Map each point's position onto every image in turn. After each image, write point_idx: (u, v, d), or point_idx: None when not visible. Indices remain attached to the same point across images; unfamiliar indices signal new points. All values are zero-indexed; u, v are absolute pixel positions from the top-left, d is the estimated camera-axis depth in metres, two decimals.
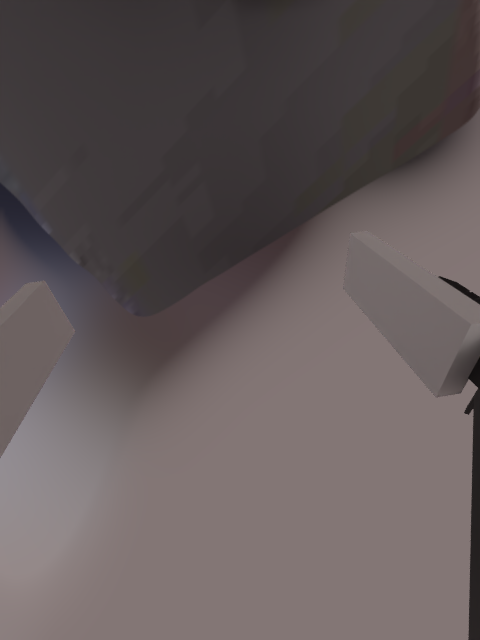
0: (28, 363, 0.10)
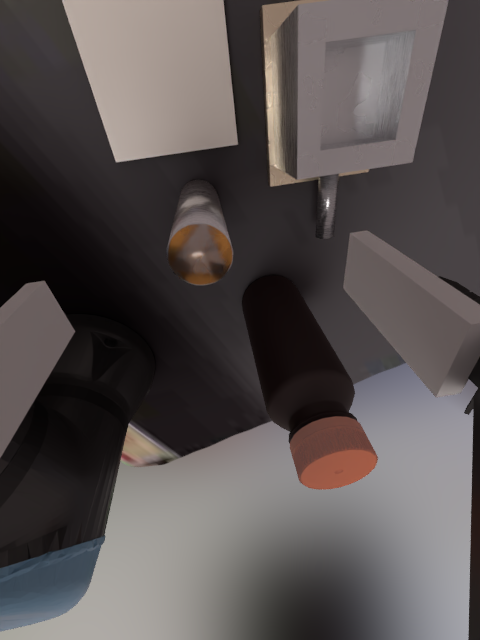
0: (28, 363, 0.10)
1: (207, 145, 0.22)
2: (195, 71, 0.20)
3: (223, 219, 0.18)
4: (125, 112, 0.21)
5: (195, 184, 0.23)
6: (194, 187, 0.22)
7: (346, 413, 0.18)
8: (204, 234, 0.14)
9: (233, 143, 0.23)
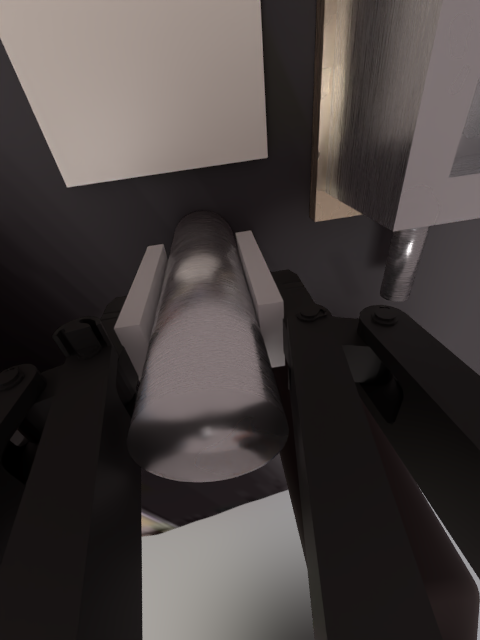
0: None
1: (217, 159, 0.14)
2: (198, 29, 0.11)
3: (254, 315, 0.09)
4: (76, 103, 0.12)
5: (198, 223, 0.14)
6: (196, 231, 0.13)
7: None
8: (222, 409, 0.06)
9: (260, 156, 0.14)
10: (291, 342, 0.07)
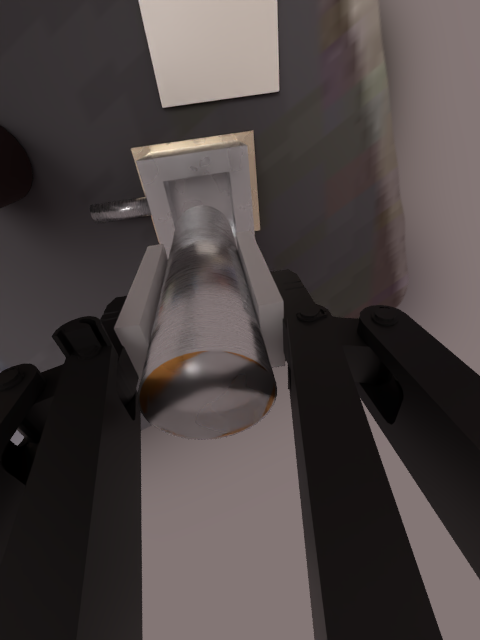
0: None
1: (156, 67, 0.22)
2: (213, 59, 0.22)
3: (249, 296, 0.10)
4: None
5: (198, 216, 0.15)
6: (196, 223, 0.14)
7: None
8: (219, 367, 0.07)
9: (162, 102, 0.23)
10: (291, 342, 0.07)
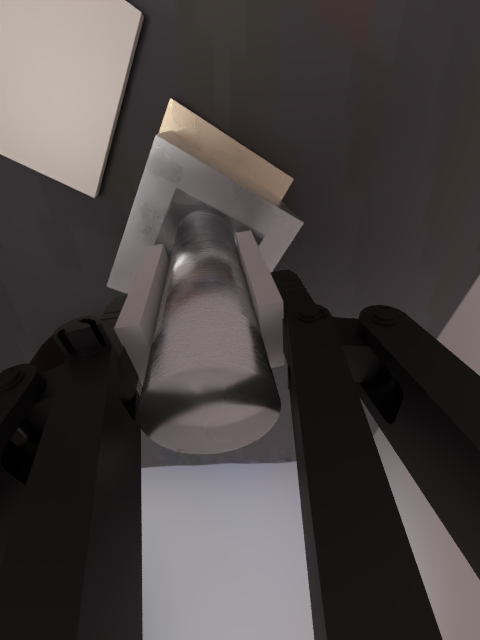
0: None
1: (54, 175, 0.18)
2: (67, 96, 0.16)
3: (240, 295, 0.09)
4: None
5: (188, 225, 0.15)
6: (186, 234, 0.14)
7: None
8: (203, 384, 0.06)
9: (89, 193, 0.19)
10: (291, 342, 0.07)
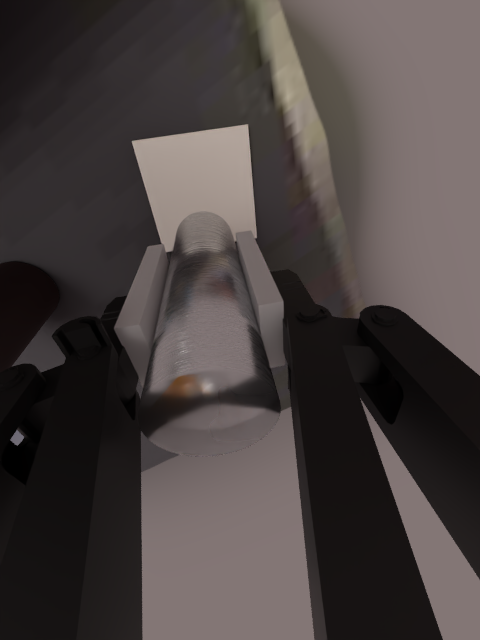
0: None
1: (159, 228, 0.28)
2: None
3: (233, 293, 0.09)
4: (172, 160, 0.25)
5: (183, 230, 0.15)
6: (181, 238, 0.14)
7: None
8: (195, 389, 0.06)
9: None
10: (291, 342, 0.07)
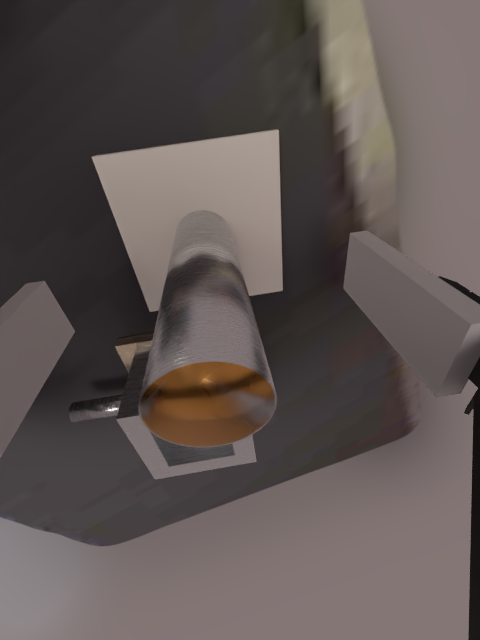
0: (28, 363, 0.10)
1: (142, 281, 0.19)
2: None
3: (231, 288, 0.09)
4: (159, 186, 0.16)
5: (183, 228, 0.15)
6: (181, 236, 0.14)
7: None
8: (193, 380, 0.07)
9: (150, 307, 0.20)
10: None
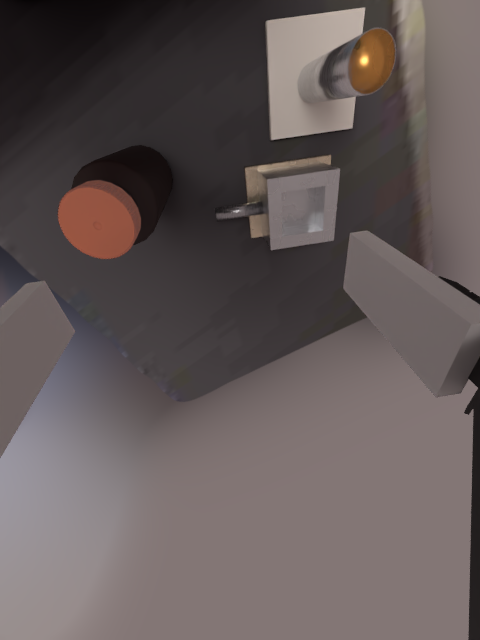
0: (28, 363, 0.10)
1: (272, 114, 0.32)
2: (310, 108, 0.32)
3: None
4: (296, 42, 0.29)
5: (313, 60, 0.28)
6: (317, 58, 0.27)
7: None
8: (372, 40, 0.19)
9: (272, 136, 0.33)
10: None
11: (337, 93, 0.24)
